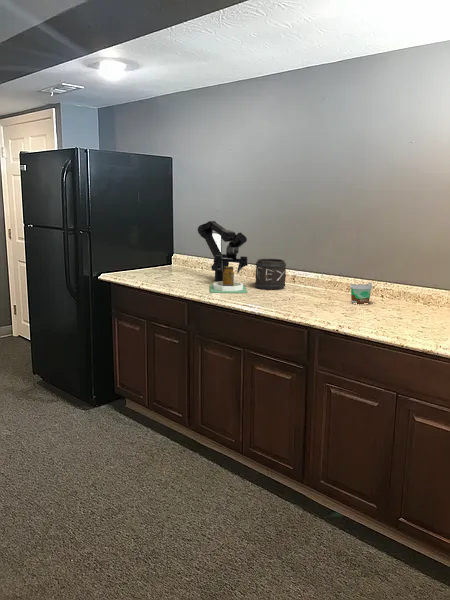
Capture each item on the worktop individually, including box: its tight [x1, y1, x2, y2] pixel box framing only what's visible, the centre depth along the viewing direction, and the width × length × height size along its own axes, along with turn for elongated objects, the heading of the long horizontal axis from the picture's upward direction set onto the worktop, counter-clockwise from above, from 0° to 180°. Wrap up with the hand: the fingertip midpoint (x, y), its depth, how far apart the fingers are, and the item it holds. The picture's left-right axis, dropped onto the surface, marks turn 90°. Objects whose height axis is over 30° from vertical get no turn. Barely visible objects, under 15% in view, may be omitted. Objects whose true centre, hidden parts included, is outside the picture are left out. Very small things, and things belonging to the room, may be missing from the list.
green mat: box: [209, 284, 248, 294], centre depth 288 cm, size 22×20×1 cm
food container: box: [349, 282, 374, 304], centre depth 254 cm, size 12×6×10 cm, turn 117°
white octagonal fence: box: [213, 281, 244, 291], centre depth 288 cm, size 16×16×2 cm
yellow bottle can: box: [222, 265, 235, 286], centre depth 287 cm, size 7×8×12 cm
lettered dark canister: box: [254, 258, 287, 291], centre depth 293 cm, size 18×18×16 cm
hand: (229, 272), depth 293 cm, fingers open, 9 cm apart
